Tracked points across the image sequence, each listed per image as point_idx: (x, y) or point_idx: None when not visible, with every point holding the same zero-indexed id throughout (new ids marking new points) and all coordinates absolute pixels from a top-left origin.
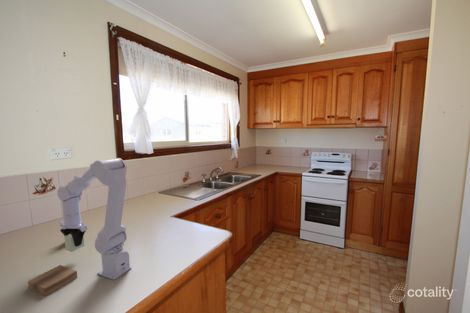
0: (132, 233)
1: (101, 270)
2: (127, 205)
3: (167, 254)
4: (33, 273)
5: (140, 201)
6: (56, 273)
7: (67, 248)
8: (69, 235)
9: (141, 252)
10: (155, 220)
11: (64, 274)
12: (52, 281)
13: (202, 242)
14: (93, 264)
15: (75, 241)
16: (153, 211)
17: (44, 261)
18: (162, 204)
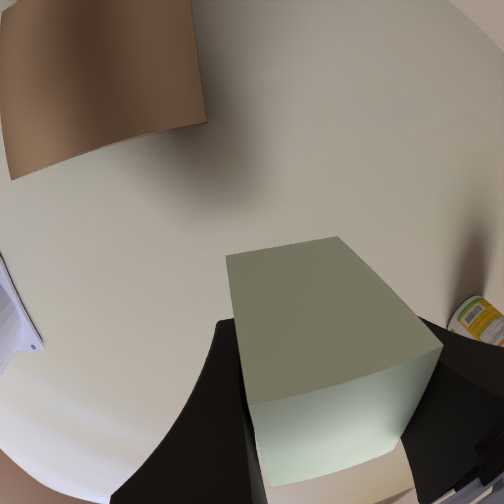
0: None
1: (2, 278)
2: None
3: (16, 425)
4: (349, 29)
5: None
6: (89, 66)
7: (311, 252)
8: (377, 401)
9: (70, 420)
10: (283, 495)
11: (29, 108)
12: (23, 40)
13: (37, 467)
14: (104, 286)
15: (200, 374)
16: (344, 492)
17: (433, 136)
18: (353, 500)
